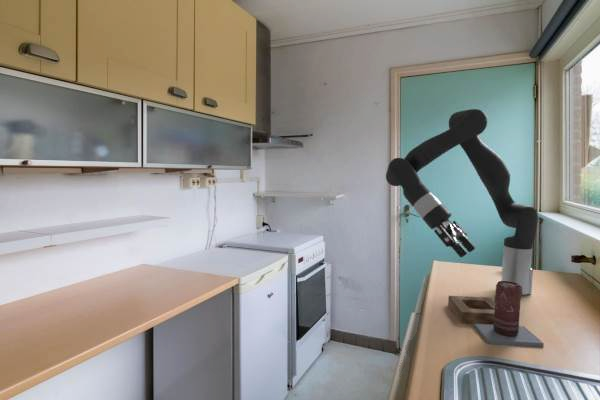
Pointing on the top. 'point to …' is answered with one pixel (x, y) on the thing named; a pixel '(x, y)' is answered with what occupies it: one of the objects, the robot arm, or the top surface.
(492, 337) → the mat
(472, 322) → the box
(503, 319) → the can
